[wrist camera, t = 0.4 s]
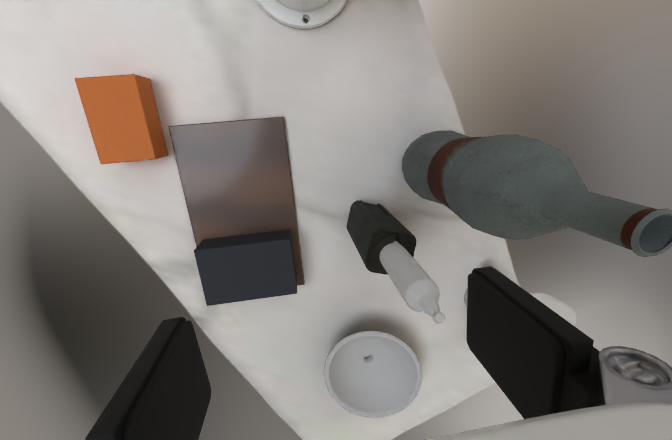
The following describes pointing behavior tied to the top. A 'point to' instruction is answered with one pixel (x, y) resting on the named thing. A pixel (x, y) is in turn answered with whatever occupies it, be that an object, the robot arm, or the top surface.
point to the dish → (372, 374)
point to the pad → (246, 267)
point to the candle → (393, 255)
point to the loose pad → (122, 118)
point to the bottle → (525, 191)
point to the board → (237, 179)
